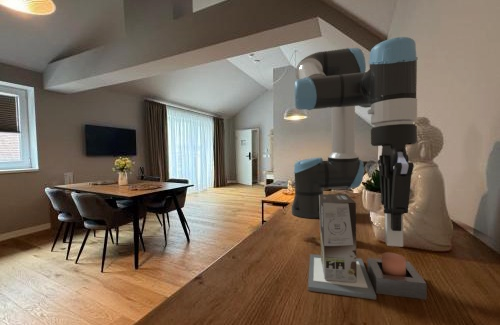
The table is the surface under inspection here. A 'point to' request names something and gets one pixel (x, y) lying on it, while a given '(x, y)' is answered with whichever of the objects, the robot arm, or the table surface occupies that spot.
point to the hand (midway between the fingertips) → (394, 244)
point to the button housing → (397, 281)
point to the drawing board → (357, 289)
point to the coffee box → (338, 237)
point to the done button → (393, 264)
